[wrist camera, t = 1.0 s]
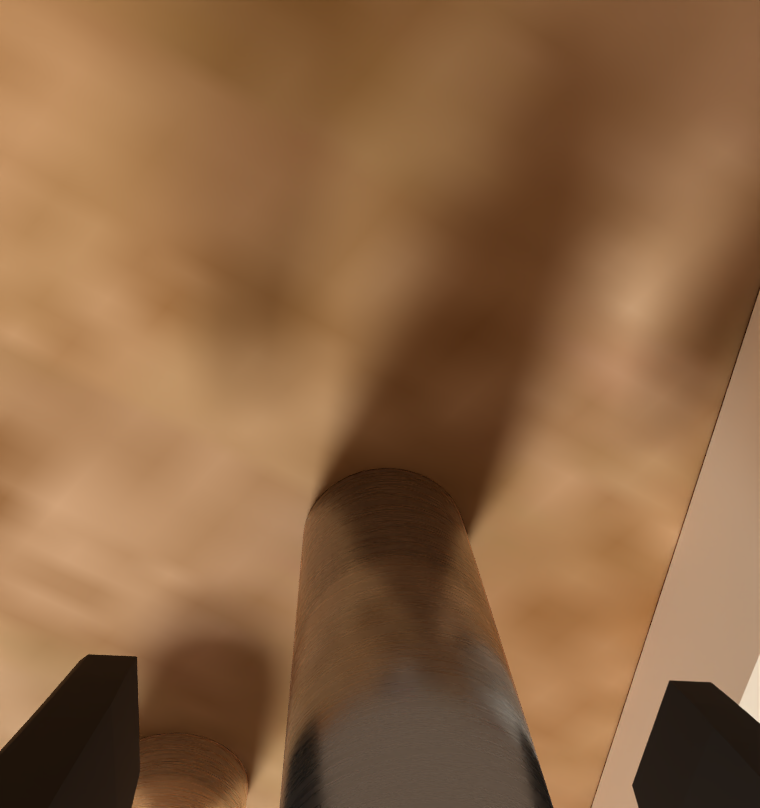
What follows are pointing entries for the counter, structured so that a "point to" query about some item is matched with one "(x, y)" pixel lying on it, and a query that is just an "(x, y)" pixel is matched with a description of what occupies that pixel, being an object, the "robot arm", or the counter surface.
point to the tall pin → (400, 661)
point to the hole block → (705, 584)
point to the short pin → (189, 774)
